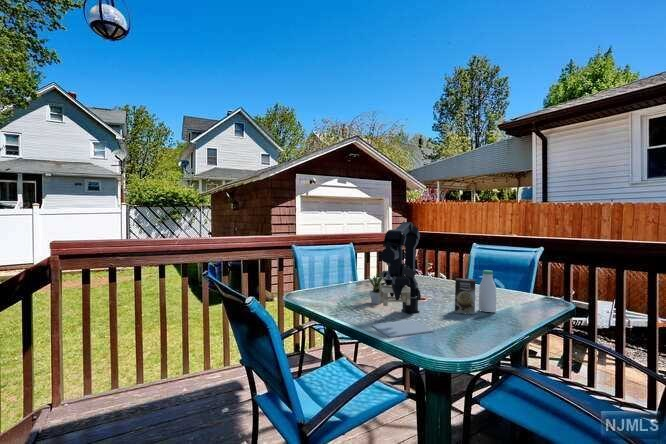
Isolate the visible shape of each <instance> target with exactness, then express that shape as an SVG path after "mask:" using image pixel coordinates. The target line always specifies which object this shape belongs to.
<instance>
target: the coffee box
mask: <svg viewBox="0 0 666 444" xmlns="http://www.w3.org/2000/svg"><path fill="white" fill-rule="evenodd" d="M454 281H455V285H454V286H455V290H454V291H455V292H454V313H455V314H460V313H466V314H465V315H469V314H476V279H475V278H474V279H473V278H460V277H455V280H454Z"/></svg>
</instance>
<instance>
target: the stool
mask: <svg viewBox="0 0 666 444" xmlns="http://www.w3.org/2000/svg"><path fill="white" fill-rule="evenodd" d="M390 293H394V292H393V289H392V286H391V285H386V284H384V285H381V284H380V303H381V304H383V307H388V303H403V302H406V305H410V287H408V286H404V287H403V289H402V291H401V295H400V298H399V300H396V298H395V296H393V297H391V296H388V295H389V294H390Z"/></svg>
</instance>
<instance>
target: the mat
mask: <svg viewBox="0 0 666 444" xmlns="http://www.w3.org/2000/svg"><path fill="white" fill-rule="evenodd" d="M371 327H372V328H374V329H375V330H377V331H379V332H380V333H381V334H383V335H385V336H386V337H387V338H390V339H391V338H399V337H406V336H413V335H421V334H429V333H434V332H435V330H434V329H431V328H429V327H427V326H426V325H424V324H421V323H420V322H418V321H415V320H414V319H409V320H408V319H407V320H400V321H392V322H383V323H382V322H381V323H374V324H371Z"/></svg>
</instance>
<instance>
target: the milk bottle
mask: <svg viewBox="0 0 666 444" xmlns="http://www.w3.org/2000/svg"><path fill="white" fill-rule="evenodd" d="M493 276H494V271H493V270H489V269H484V270H482V278H481V281H480V283H479V287H478V288H479V289H478V311H479V310H481V311H485V312H495V311H496V312H497V287H496V283H495V281H494V278H493ZM481 311H480V312H481ZM496 312H495V313H496Z"/></svg>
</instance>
